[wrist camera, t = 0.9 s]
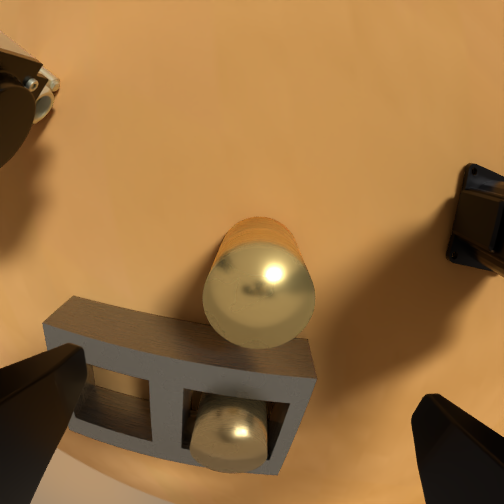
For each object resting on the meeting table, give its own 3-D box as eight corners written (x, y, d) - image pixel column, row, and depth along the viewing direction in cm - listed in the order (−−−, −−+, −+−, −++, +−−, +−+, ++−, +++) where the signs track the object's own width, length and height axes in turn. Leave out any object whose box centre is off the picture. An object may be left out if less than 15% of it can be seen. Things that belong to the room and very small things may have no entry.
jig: (307, 339, 19) (317, 378, 16) (275, 437, 22) (277, 475, 19) (73, 295, 19) (42, 322, 15) (88, 398, 22) (69, 429, 18)
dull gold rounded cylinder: (271, 369, 20) (274, 436, 15) (260, 413, 22) (259, 476, 16) (206, 360, 20) (190, 425, 14) (201, 404, 21) (188, 466, 16)
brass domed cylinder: (305, 224, 17) (327, 257, 12) (289, 296, 19) (300, 354, 13) (225, 210, 17) (209, 238, 12) (215, 284, 19) (197, 339, 13)
